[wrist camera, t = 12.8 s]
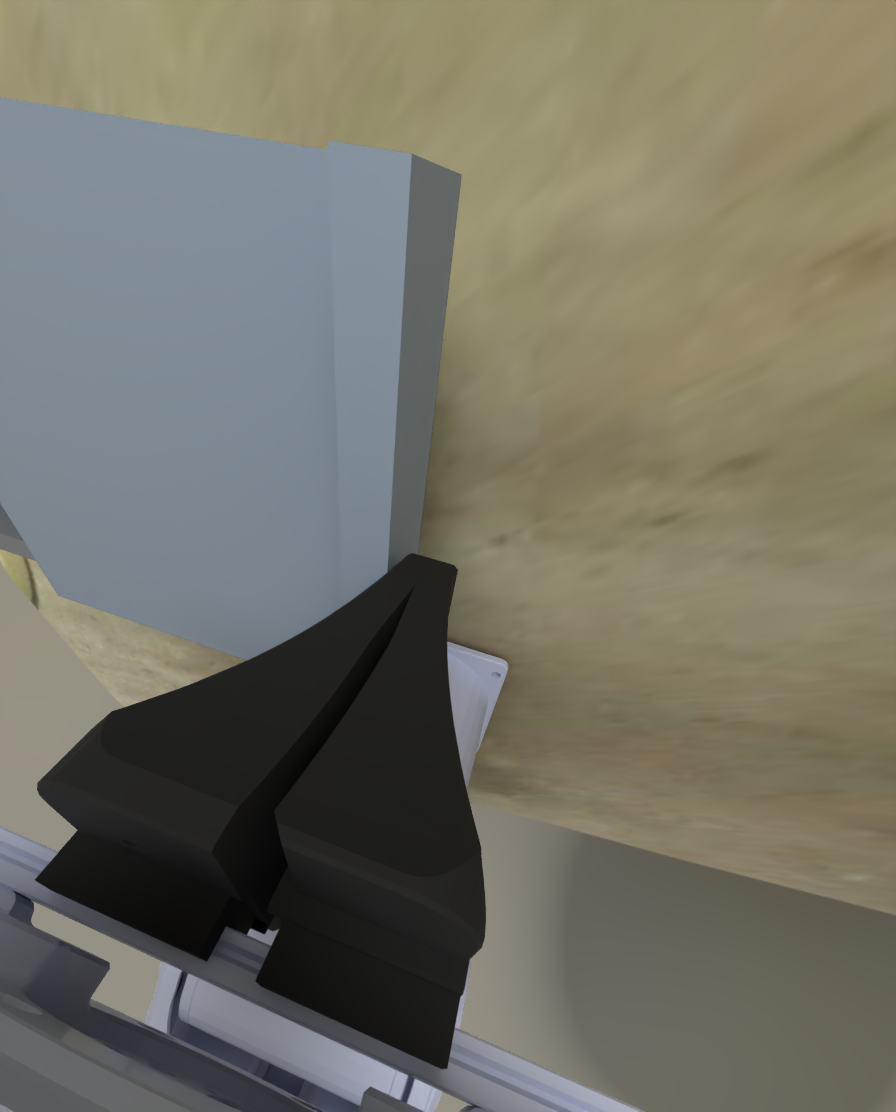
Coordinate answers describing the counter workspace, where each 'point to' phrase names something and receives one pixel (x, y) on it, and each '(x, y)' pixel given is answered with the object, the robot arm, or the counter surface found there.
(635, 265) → the counter surface
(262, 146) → the lid
